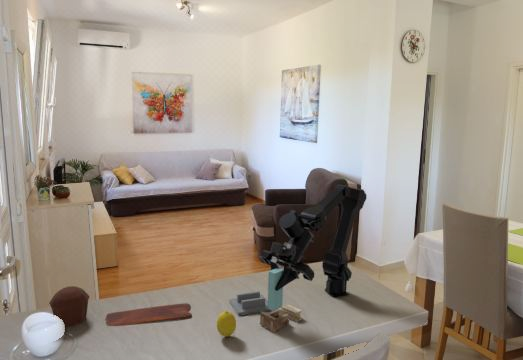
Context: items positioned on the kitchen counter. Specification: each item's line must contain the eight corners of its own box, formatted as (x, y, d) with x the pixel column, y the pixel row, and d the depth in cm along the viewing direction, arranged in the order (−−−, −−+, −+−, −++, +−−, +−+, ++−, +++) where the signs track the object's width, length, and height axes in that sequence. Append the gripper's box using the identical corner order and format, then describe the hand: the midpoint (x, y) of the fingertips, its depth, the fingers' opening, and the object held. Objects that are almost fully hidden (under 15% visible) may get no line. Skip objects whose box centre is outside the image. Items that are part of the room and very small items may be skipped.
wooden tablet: (189, 305, 143) (189, 300, 142) (193, 319, 133) (193, 314, 133) (106, 313, 136) (106, 309, 135) (103, 329, 126) (103, 324, 126)
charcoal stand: (262, 297, 148) (262, 287, 148) (272, 310, 139) (273, 300, 138) (229, 302, 144) (229, 292, 144) (238, 315, 135) (238, 305, 134)
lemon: (237, 340, 120) (238, 314, 119) (218, 343, 119) (218, 316, 118) (233, 330, 126) (233, 305, 124) (215, 333, 124) (215, 308, 123)
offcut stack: (283, 311, 139) (283, 302, 139) (302, 319, 134) (302, 310, 133) (277, 314, 137) (277, 305, 136) (296, 322, 132) (297, 314, 131)
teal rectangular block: (276, 304, 131) (277, 267, 129) (282, 307, 129) (283, 270, 127) (267, 308, 128) (268, 271, 126) (273, 311, 126) (274, 273, 124)
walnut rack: (275, 317, 134) (275, 305, 134) (289, 324, 130) (289, 312, 129) (259, 325, 129) (260, 312, 129) (274, 332, 125) (274, 319, 124)
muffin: (85, 327, 126) (84, 296, 124) (45, 331, 124) (43, 299, 122) (93, 309, 137) (91, 280, 136) (56, 311, 135) (54, 282, 133)
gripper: (263, 225, 134) (237, 267, 128) (309, 238, 121) (283, 286, 115) (279, 243, 141) (255, 284, 135) (325, 258, 128) (300, 303, 122)
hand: (272, 288), depth 127 cm, fingers closed on teal rectangular block, 2 cm apart
